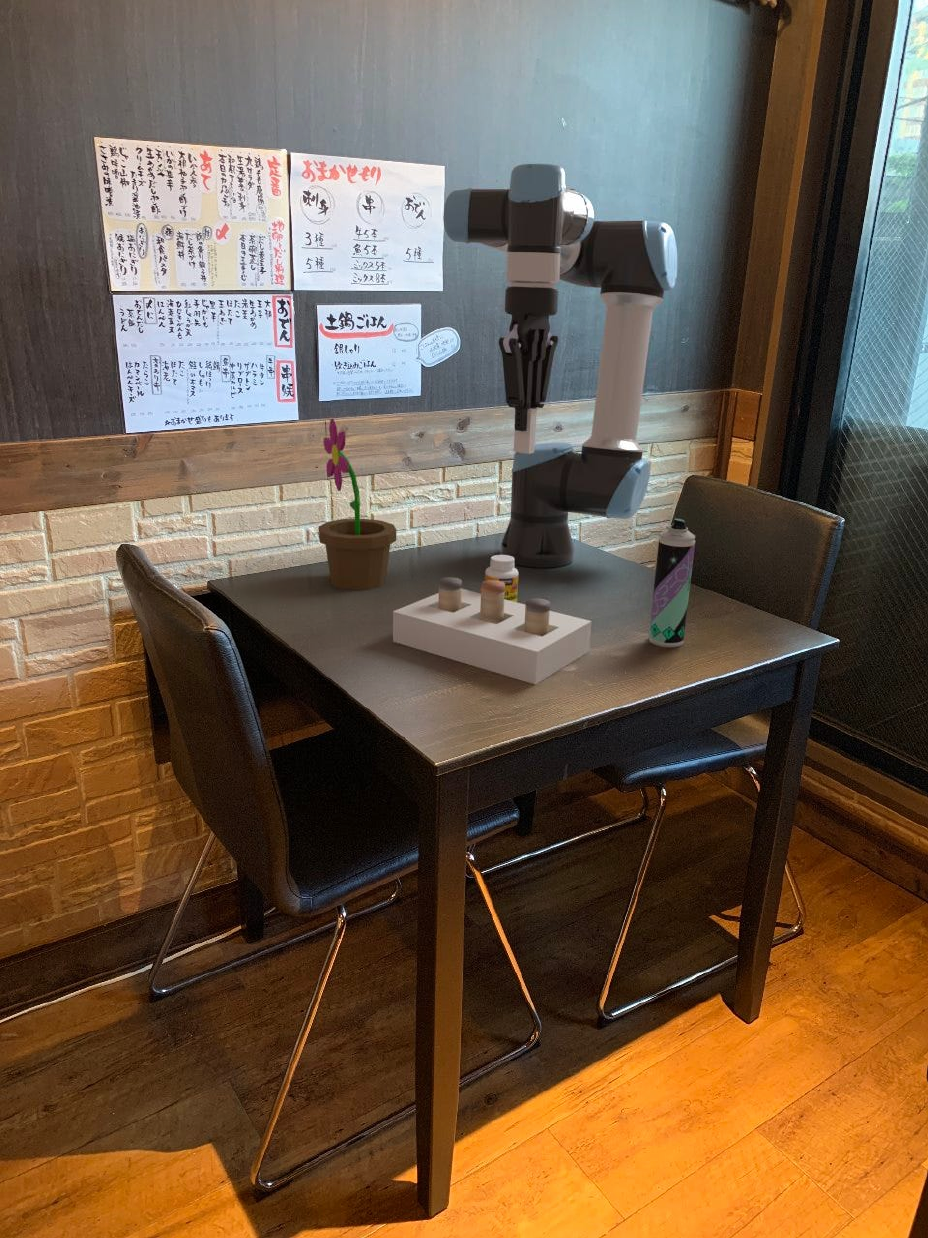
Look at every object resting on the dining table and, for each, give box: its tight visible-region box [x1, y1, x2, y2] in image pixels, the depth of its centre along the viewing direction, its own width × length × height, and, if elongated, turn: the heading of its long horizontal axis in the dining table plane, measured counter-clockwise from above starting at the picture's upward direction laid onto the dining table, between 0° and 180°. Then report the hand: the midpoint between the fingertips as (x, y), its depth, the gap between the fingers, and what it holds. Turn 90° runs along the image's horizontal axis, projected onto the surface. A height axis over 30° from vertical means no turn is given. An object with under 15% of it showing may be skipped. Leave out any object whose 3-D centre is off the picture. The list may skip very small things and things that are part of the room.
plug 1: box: [438, 576, 463, 613], centre depth 147 cm, size 4×4×9 cm
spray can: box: [648, 517, 696, 648], centre depth 146 cm, size 6×6×20 cm
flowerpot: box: [318, 418, 397, 591], centre depth 168 cm, size 14×14×30 cm
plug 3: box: [524, 597, 551, 637], centre depth 139 cm, size 4×4×9 cm
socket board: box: [392, 588, 593, 685], centre depth 144 cm, size 16×26×5 cm, turn 55°
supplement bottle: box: [484, 554, 519, 603], centre depth 156 cm, size 6×6×10 cm
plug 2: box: [480, 580, 505, 624], centre depth 143 cm, size 4×4×9 cm
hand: (523, 451), depth 140 cm, fingers closed
